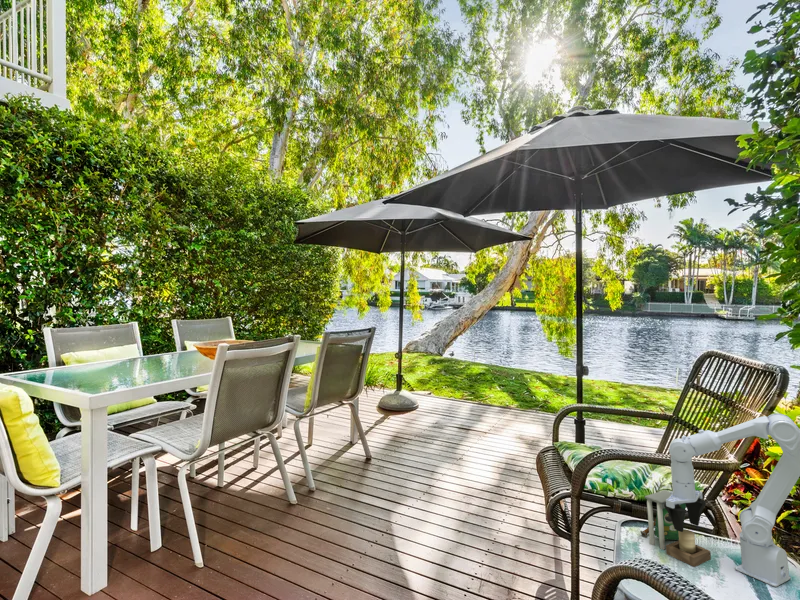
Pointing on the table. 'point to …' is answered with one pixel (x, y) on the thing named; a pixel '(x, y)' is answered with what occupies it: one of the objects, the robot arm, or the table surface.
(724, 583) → the table surface
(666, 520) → the coffee box
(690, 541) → the peg
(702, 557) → the socket block
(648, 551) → the table surface
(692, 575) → the table surface
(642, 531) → the wooden post with brackets
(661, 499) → the miniature side table
